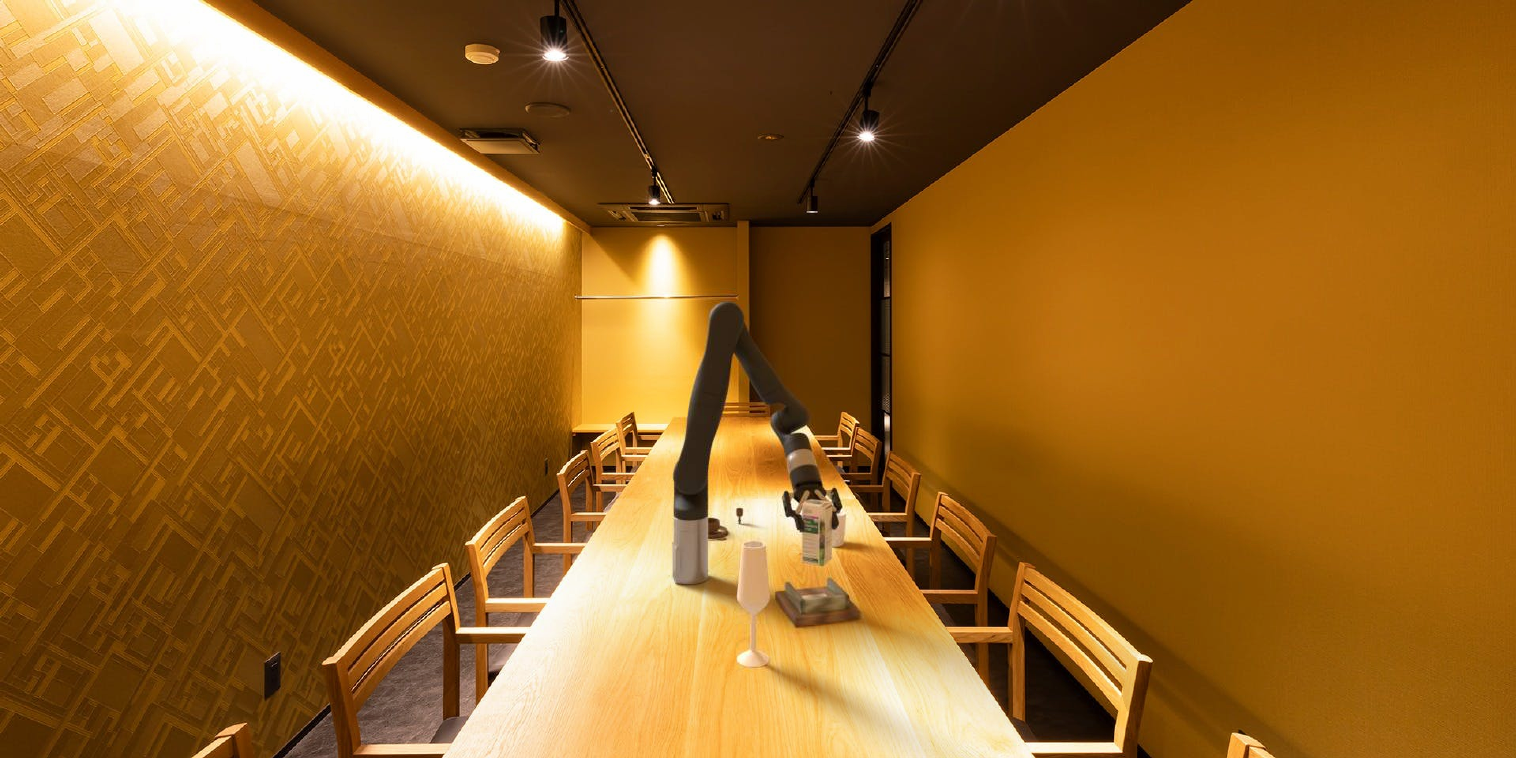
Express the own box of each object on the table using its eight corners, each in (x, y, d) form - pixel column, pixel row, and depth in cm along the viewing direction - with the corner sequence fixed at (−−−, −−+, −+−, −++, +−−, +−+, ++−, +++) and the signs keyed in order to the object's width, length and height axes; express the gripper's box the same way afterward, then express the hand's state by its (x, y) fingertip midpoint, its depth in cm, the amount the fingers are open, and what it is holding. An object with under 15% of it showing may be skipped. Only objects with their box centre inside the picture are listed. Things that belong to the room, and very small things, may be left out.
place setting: (685, 528, 229) (685, 511, 228) (741, 523, 235) (741, 507, 235) (697, 544, 212) (697, 526, 212) (757, 538, 219) (758, 520, 218)
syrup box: (800, 563, 161) (801, 503, 159) (810, 555, 166) (811, 497, 165) (823, 567, 158) (823, 506, 157) (832, 559, 163) (833, 500, 162)
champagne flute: (768, 650, 142) (769, 539, 140) (770, 667, 135) (771, 549, 133) (736, 651, 141) (737, 539, 140) (736, 667, 135) (737, 549, 133)
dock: (795, 626, 153) (795, 605, 153) (775, 599, 168) (775, 579, 168) (860, 619, 157) (860, 598, 157) (835, 592, 173) (835, 573, 172)
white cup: (845, 540, 215) (845, 509, 215) (846, 548, 208) (846, 516, 207) (820, 539, 216) (820, 508, 215) (820, 547, 208) (820, 515, 208)
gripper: (779, 464, 166) (793, 524, 155) (834, 461, 169) (851, 519, 159) (773, 481, 171) (787, 539, 161) (826, 477, 175) (842, 534, 165)
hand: (819, 529), depth 160 cm, fingers closed on syrup box, 8 cm apart
